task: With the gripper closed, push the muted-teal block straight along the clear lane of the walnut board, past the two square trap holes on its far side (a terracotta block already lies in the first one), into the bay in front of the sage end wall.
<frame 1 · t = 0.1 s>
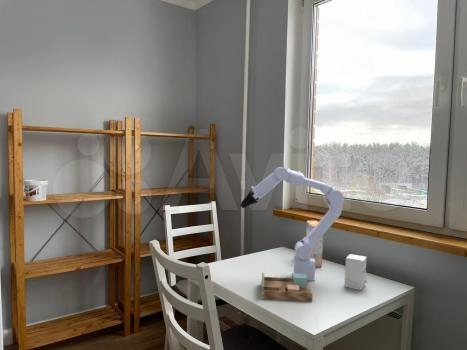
hand: (242, 205, 160), 32 cm above the table, tool tilted 50°, fingers open, 7 cm apart
trap board: (285, 292, 143), on the table
clay block: (293, 296, 139), resting in trap board
teal block: (300, 285, 145), point 2 cm above the table, touching trap board
supplement box: (354, 286, 151), on the table
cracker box: (313, 263, 181), on the table
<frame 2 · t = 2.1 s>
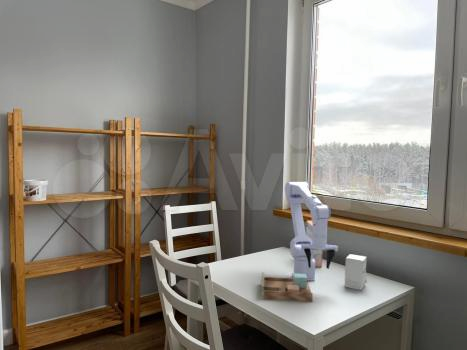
hand: (318, 267, 144), 10 cm above the table, tool pointing down, fingers open, 7 cm apart
nothing on the table moved.
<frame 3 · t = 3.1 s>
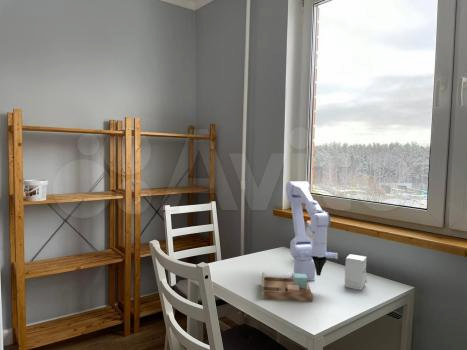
hand: (318, 274, 144), 7 cm above the table, tool pointing down, fingers closed
nothing on the table moved.
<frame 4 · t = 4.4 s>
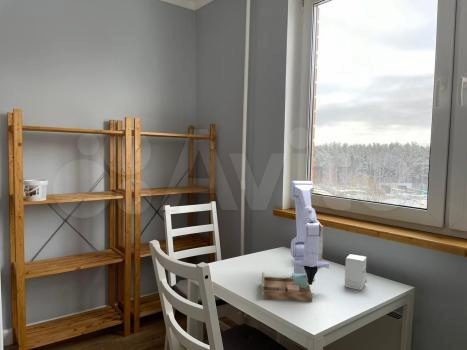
hand: (310, 283, 145), 3 cm above the table, tool pointing down, fingers closed
teal block: (299, 285, 145), point 2 cm above the table, touching gripper, trap board
everything else where it was.
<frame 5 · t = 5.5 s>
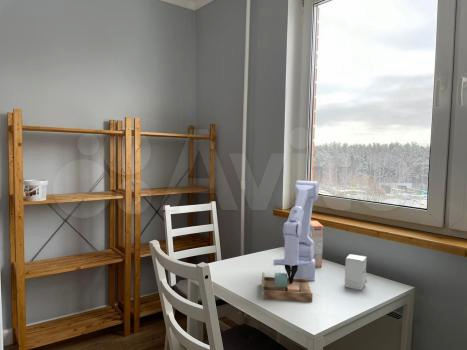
hand: (290, 282, 146), 3 cm above the table, tool pointing down, fingers closed
teal block: (280, 284, 146), point 2 cm above the table, touching gripper, trap board
everything else where it was.
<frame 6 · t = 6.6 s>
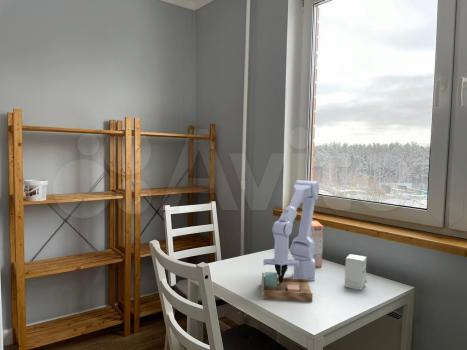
hand: (280, 282, 146), 3 cm above the table, tool pointing down, fingers closed
teal block: (270, 283, 146), point 2 cm above the table, touching gripper, trap board
everything else where it was.
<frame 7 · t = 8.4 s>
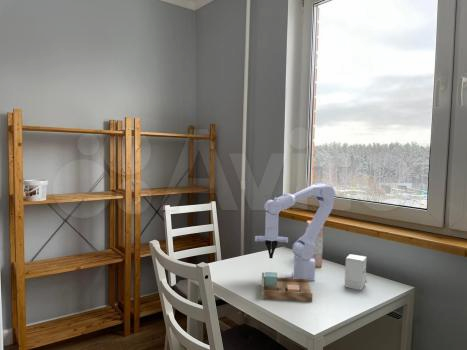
hand: (270, 257, 156), 10 cm above the table, tool pointing down, fingers closed
teal block: (270, 283, 146), point 2 cm above the table, touching trap board
everything else where it was.
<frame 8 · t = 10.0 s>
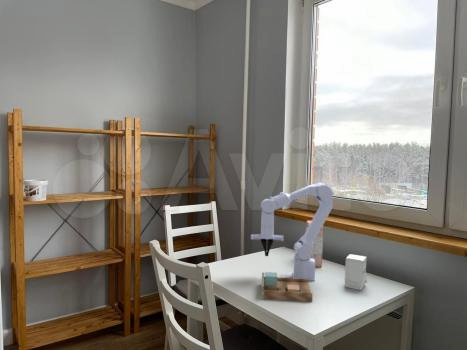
hand: (266, 255, 159), 10 cm above the table, tool pointing down, fingers closed
nothing on the table moved.
at the end: teal block 0.2 cm from the target spot on the trap board, point 2.0 cm above the trap board's base; teal block tilted 0° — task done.
